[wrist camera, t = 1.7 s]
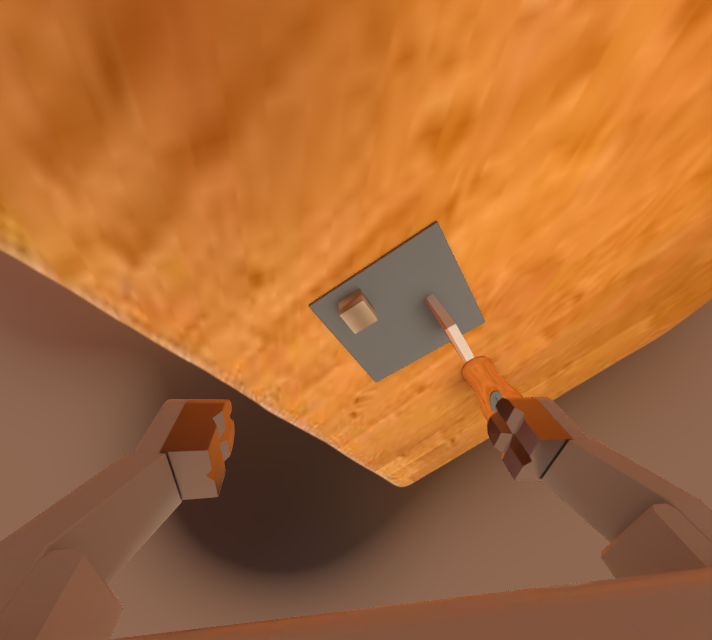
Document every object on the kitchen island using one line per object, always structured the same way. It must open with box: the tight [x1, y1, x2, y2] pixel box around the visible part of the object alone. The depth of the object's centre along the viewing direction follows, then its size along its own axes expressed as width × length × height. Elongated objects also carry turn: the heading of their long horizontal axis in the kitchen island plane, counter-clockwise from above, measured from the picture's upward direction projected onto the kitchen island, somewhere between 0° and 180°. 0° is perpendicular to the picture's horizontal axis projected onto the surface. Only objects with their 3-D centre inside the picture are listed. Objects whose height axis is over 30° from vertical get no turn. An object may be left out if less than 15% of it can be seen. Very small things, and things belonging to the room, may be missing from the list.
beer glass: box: [462, 357, 523, 422], centre depth 49 cm, size 7×7×15 cm
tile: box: [424, 293, 474, 363], centre depth 43 cm, size 2×7×9 cm, turn 33°
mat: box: [309, 221, 485, 382], centre depth 47 cm, size 22×20×1 cm
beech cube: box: [338, 288, 378, 334], centre depth 43 cm, size 4×4×4 cm
